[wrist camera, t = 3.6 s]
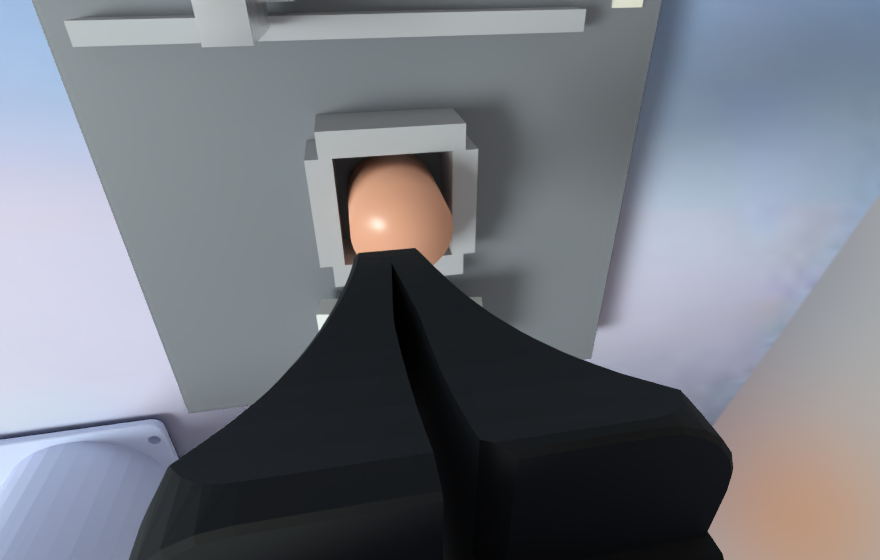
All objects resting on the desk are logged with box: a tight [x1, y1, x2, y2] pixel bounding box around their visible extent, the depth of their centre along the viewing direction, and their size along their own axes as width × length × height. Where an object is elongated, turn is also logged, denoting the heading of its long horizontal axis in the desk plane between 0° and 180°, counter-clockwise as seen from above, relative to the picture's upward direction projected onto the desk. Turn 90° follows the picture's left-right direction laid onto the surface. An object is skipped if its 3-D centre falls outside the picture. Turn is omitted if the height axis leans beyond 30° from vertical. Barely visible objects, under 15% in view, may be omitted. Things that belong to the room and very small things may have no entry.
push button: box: [347, 154, 453, 265], centre depth 16 cm, size 3×3×3 cm
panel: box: [32, 0, 662, 413], centre depth 18 cm, size 19×18×4 cm
